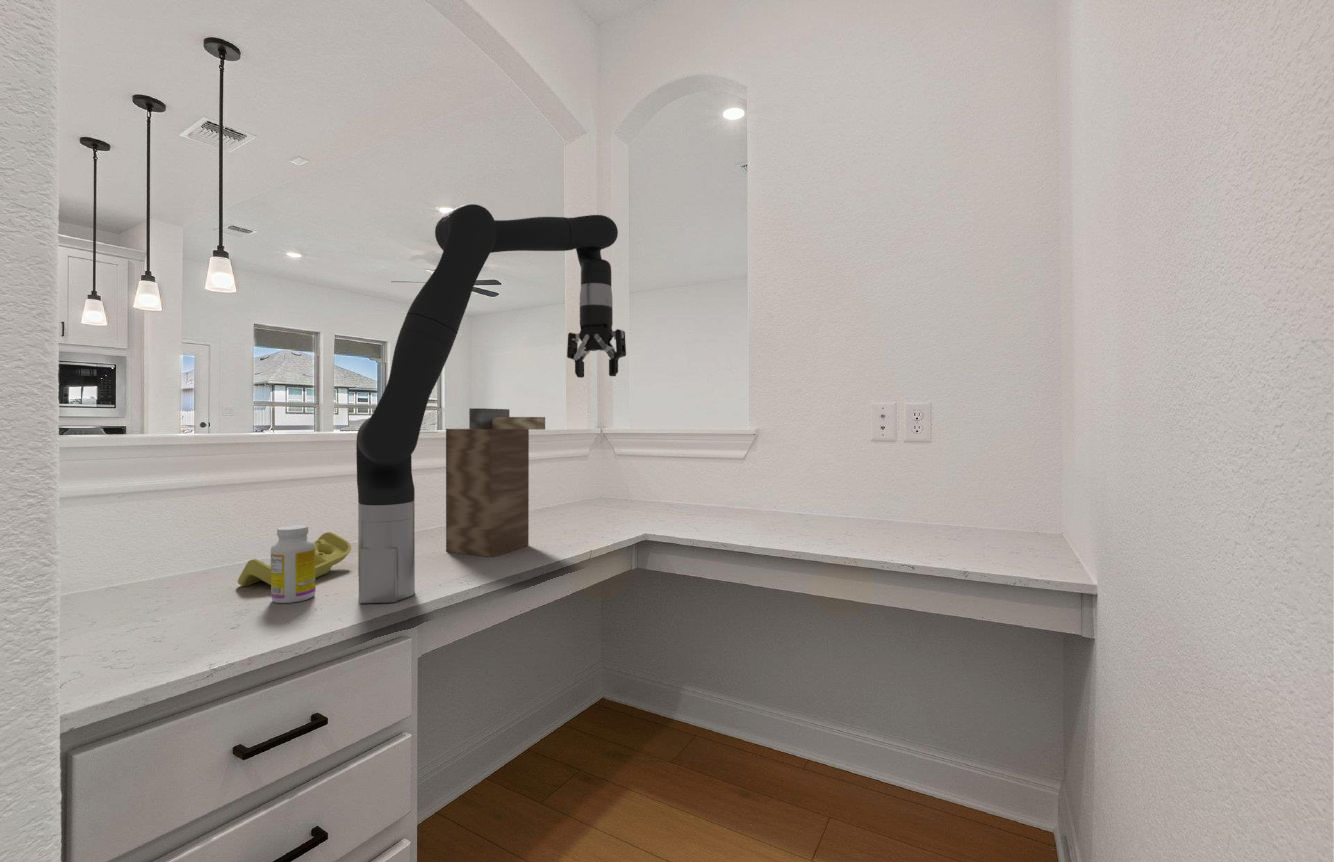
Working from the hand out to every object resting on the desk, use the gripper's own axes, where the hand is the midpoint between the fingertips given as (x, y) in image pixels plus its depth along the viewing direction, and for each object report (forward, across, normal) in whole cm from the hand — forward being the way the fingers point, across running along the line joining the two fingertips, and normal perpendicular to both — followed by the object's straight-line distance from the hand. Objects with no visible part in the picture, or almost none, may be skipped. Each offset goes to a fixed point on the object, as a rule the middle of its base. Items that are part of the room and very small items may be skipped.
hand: (596, 376), depth 132 cm
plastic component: (+42, +47, +38) cm, 74 cm away
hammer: (+12, +23, +1) cm, 26 cm away
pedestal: (+42, +30, +1) cm, 52 cm away
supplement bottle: (+42, +35, +48) cm, 73 cm away
